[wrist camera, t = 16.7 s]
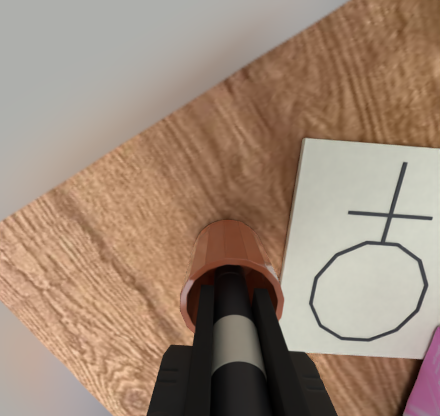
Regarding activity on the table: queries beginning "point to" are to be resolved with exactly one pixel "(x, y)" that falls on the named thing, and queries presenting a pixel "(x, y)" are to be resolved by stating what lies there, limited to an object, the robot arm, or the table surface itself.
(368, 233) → the notepad
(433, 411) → the gum box
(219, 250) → the pen cup
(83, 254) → the table surface
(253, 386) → the marker
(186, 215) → the table surface
